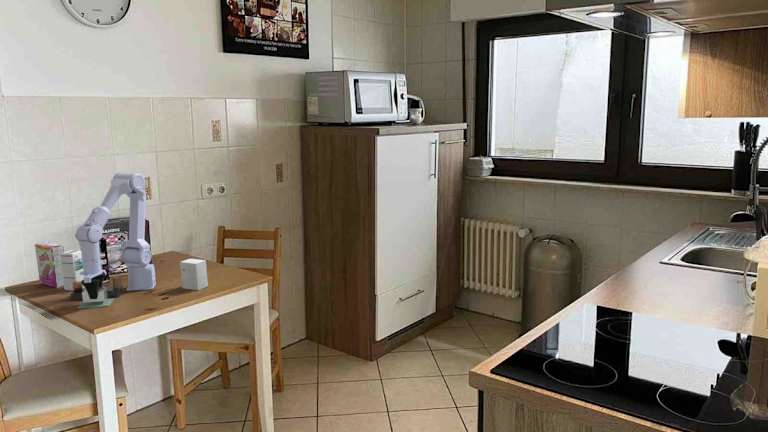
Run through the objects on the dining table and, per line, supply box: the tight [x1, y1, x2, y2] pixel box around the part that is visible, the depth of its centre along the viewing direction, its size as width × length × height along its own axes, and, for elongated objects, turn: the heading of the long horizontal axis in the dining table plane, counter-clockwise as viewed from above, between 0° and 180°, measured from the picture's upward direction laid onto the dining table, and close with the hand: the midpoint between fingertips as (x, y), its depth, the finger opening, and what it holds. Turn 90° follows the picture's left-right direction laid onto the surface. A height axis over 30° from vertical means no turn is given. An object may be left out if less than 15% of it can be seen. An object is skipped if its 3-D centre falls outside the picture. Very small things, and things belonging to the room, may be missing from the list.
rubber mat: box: [76, 297, 115, 310], centre depth 205 cm, size 10×8×1 cm
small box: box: [179, 258, 209, 291], centre depth 221 cm, size 8×6×10 cm
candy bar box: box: [34, 241, 65, 289], centre depth 227 cm, size 11×5×16 cm, turn 61°
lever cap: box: [82, 287, 108, 302], centre depth 204 cm, size 7×4×4 cm, turn 101°
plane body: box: [70, 273, 124, 301], centre depth 213 cm, size 16×7×7 cm, turn 101°
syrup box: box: [60, 249, 84, 292], centre depth 222 cm, size 6×6×14 cm
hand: (95, 296), depth 204 cm, fingers closed on lever cap, 4 cm apart
